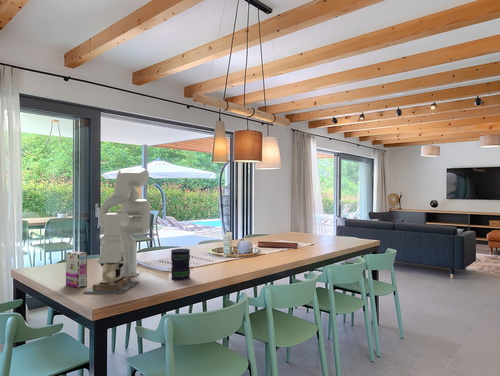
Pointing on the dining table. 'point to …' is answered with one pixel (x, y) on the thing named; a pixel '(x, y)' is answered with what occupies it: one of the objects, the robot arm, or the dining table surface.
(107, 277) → the ash block
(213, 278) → the dining table surface
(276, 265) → the dining table surface
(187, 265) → the storage jar
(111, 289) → the slot board
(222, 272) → the dining table surface
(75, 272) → the candy bar box
